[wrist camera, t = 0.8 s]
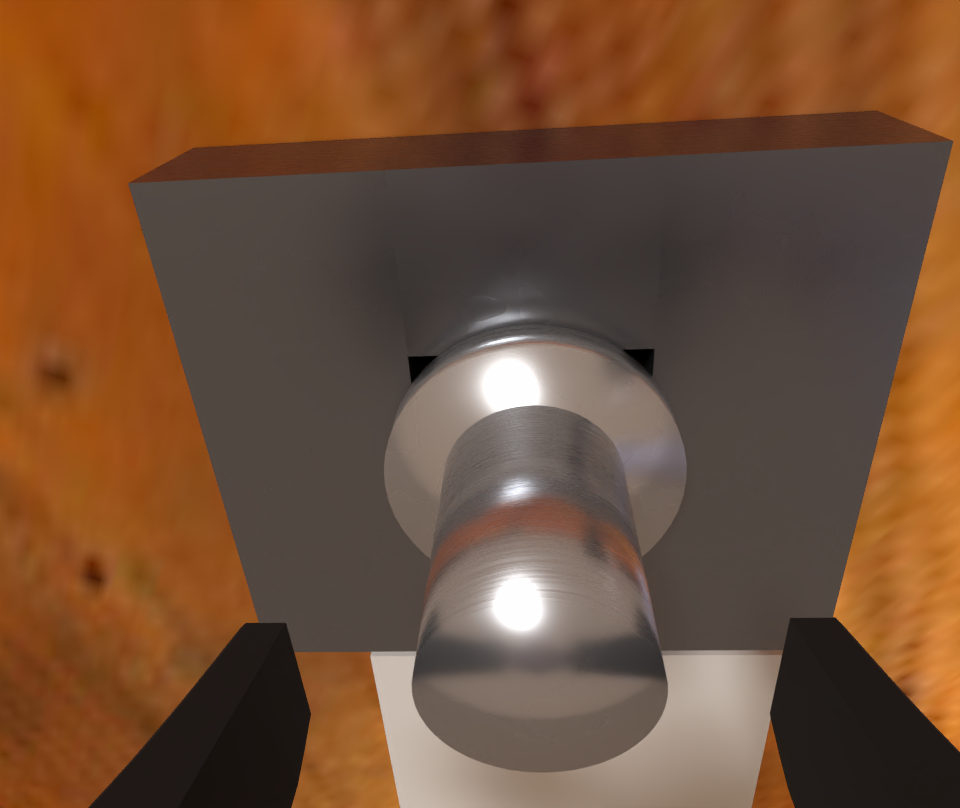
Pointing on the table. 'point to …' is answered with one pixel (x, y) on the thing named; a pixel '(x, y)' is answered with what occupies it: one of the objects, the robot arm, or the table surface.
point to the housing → (549, 301)
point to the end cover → (536, 544)
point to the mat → (619, 781)
